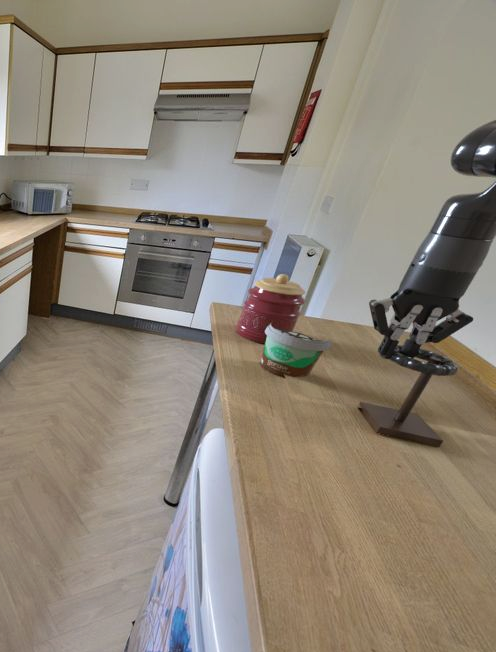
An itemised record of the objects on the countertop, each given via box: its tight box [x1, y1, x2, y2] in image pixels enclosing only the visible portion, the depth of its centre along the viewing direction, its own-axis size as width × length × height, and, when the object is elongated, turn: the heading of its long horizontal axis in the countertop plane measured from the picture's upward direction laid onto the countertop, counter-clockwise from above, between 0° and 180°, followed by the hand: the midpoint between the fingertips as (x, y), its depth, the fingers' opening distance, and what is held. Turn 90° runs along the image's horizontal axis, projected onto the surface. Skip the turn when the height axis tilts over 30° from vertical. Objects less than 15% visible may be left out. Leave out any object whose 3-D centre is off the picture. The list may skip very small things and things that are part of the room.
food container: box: [260, 324, 332, 379], centre depth 92 cm, size 12×6×10 cm, turn 44°
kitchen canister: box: [235, 273, 307, 345], centre depth 110 cm, size 13×13×18 cm
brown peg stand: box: [356, 357, 444, 448], centre depth 74 cm, size 9×9×14 cm
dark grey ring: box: [389, 344, 460, 377], centre depth 72 cm, size 9×9×2 cm
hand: (392, 358), depth 73 cm, fingers closed on dark grey ring, 2 cm apart
